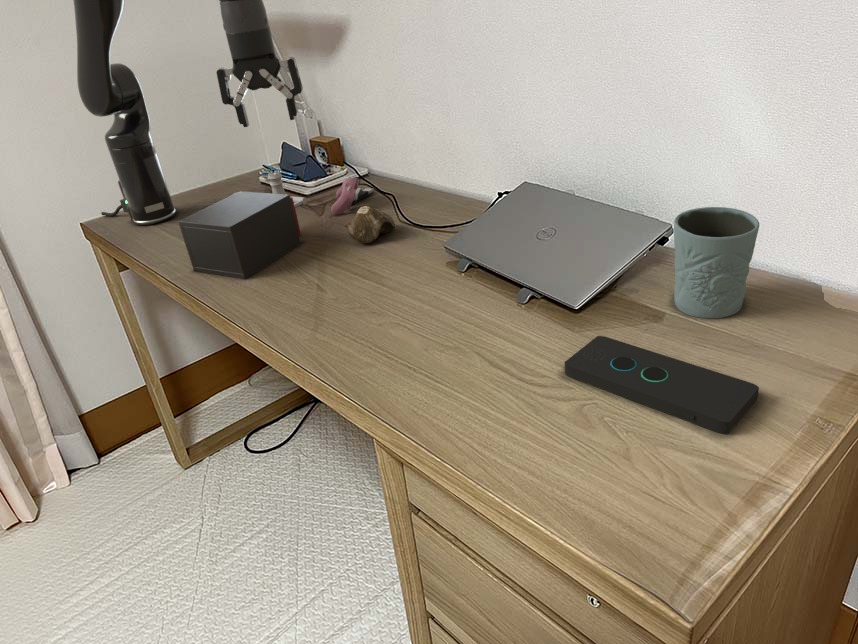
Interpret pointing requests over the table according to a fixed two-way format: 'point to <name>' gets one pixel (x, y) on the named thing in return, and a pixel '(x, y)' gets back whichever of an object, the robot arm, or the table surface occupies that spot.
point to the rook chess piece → (276, 182)
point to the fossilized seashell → (369, 224)
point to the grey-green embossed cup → (712, 260)
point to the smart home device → (664, 383)
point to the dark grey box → (240, 233)
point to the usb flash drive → (362, 193)
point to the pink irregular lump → (345, 195)
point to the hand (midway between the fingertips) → (269, 122)
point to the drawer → (296, 202)
